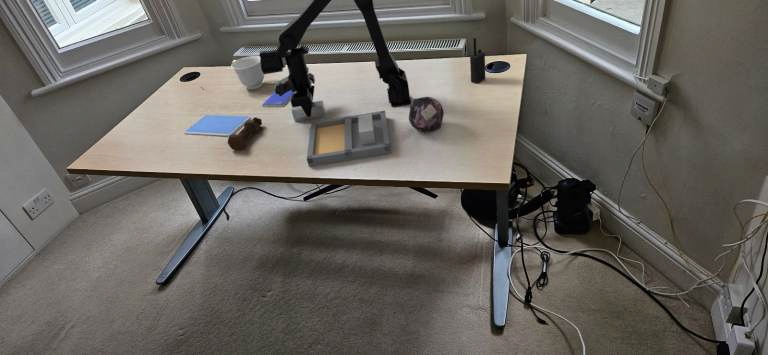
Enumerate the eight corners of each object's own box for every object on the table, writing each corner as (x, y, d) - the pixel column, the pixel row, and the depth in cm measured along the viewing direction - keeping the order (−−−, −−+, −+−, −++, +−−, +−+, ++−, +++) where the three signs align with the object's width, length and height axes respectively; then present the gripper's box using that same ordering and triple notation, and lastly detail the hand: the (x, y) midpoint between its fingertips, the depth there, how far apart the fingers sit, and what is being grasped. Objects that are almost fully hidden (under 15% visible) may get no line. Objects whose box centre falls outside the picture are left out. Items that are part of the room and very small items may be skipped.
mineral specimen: (403, 133, 132) (403, 97, 130) (415, 129, 142) (415, 95, 140) (437, 134, 129) (437, 98, 126) (447, 130, 138) (447, 95, 136)
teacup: (251, 77, 190) (243, 53, 184) (276, 82, 182) (269, 57, 176) (228, 89, 183) (219, 65, 177) (253, 95, 175) (244, 70, 169)
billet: (295, 115, 156) (292, 105, 153) (325, 111, 155) (322, 100, 153) (294, 121, 152) (291, 110, 150) (324, 116, 152) (322, 105, 150)
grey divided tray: (385, 117, 145) (383, 103, 143) (391, 153, 128) (388, 137, 125) (313, 129, 146) (309, 115, 143) (308, 166, 129) (304, 151, 126)
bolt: (263, 130, 155) (241, 154, 143) (249, 124, 154) (226, 147, 142) (267, 117, 151) (244, 140, 139) (252, 110, 151) (229, 132, 139)
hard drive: (282, 103, 162) (296, 88, 172) (261, 104, 165) (276, 88, 174) (284, 107, 163) (297, 92, 173) (263, 108, 166) (277, 92, 175)
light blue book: (183, 135, 157) (182, 131, 156) (206, 116, 166) (205, 113, 166) (231, 138, 150) (229, 134, 150) (252, 119, 160) (251, 115, 159)
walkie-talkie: (478, 77, 160) (477, 33, 151) (486, 79, 157) (486, 35, 149) (469, 82, 157) (467, 38, 149) (477, 84, 155) (476, 40, 146)
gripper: (275, 61, 152) (288, 104, 161) (267, 85, 137) (282, 131, 146) (309, 56, 152) (319, 99, 161) (305, 78, 137) (317, 125, 146)
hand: (309, 113), depth 153 cm, fingers closed on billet, 4 cm apart
